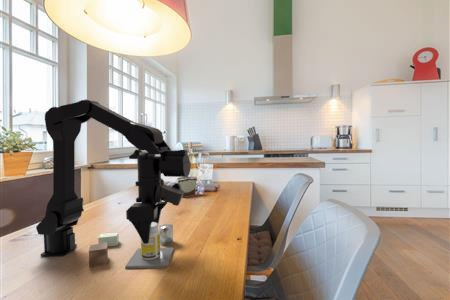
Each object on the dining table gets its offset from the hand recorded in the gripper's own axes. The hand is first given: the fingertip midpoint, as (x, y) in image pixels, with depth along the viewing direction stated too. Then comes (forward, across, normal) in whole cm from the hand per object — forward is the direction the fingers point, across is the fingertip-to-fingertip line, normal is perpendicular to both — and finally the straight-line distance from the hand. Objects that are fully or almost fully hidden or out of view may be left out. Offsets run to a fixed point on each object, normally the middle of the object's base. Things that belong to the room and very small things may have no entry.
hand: (151, 236), depth 66 cm
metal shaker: (+6, +10, -2) cm, 12 cm away
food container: (+6, +74, 0) cm, 74 cm away
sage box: (+6, +10, +15) cm, 19 cm away
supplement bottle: (+6, 0, 0) cm, 6 cm away
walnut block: (+6, -1, +13) cm, 14 cm away
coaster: (+6, 0, 0) cm, 6 cm away
